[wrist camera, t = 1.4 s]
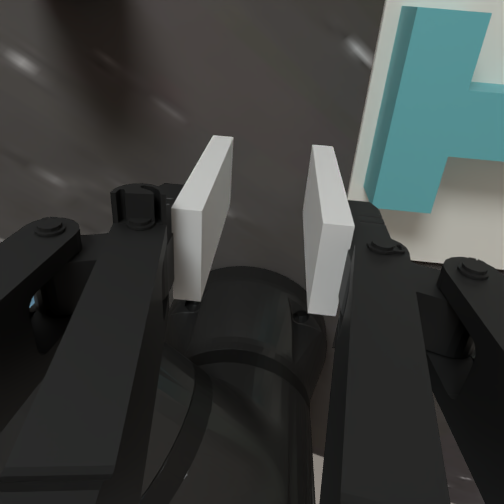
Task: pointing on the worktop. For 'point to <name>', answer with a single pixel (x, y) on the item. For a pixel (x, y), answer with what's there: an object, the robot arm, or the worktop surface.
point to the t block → (432, 108)
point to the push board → (456, 169)
